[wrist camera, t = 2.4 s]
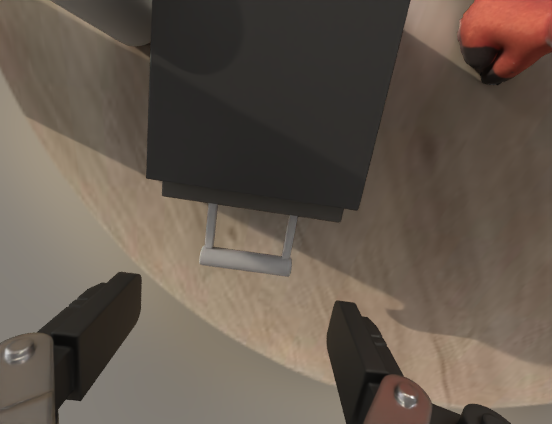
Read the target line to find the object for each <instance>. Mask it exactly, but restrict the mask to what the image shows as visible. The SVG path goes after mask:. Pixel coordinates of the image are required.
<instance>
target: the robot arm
mask: <svg viewBox="0 0 552 424" xmlns="http://www.w3.org/2000/svg"><path fill="white" fill-rule="evenodd" d="M141 282H142V280H141V275H140V274H134V273H126V272H119V273H117V274H116V275H115V276H114V277H113V278H112V279H110V280H109V281H108V282H107V283H100V284H98V285H96V286H94V287H91V288H89V289H87V290H86V291H85V292H84V293H83V294H81V295H80V296H79V297H78V299H77V300H75V301H73V302H72V303H71V304H70V305H69V307H66V308H65V309H64V310H63V311H61V312H60V313H59V314H58V315H57V316H55V317H54V318H53V319H52V320H51V321H50V322H48V323H47V324H46V325H45V326H44V327H42V328H41V329H40V330H39V331H38V332H37V333H27V334H22V335H18V336H15V337H12V338H9V339H7V340H5V341H3V342H1V343H0V424H59V414H58V409H59V408H60V406H61V405H62V404H63V402H64V401H65V400H66V399H67V400H76V401H81V400H82V399H83V397H84V396H85V395H86V393H87V391H88V390H89V389H90V388H91V386H92V385H93V383H94V382H95V380H96V379H97V378H98V376H99V375H100V373H101V372H102V371H103V369H104V368H105V367H106V365H107V364H108V362H109V361H110V359H111V358H112V357H113V355H114V354H115V353H116V351H117V350H118V348H119V347H120V346H121V344H122V343H123V341H124V340H125V339H126V337H127V336H128V334H129V333H130V331H131V330H132V329H133V327H134V326H135V325H136V323H137V321H138V318H139V315H140V310H141V284H142V283H141ZM327 350H328V353H329V357H330V361H331V365H332V369H333V373H334V377H335V381H336V385H337V389H338V393H339V397H340V401H341V405H342V408H343V413H344V416H345V420H346V424H511V423H510V422H508V421H507V420H506V419H505V418H503V417H502V416H501V415H499V414H498V413H496V412H495V411H493V410H491V409H489V408H487V407H485V406H482V405H478V404H468V405H466V406H465V407H464V409H463V412H462V414H461V415H460V414H457V413H455V412H452V411H450V410H447V409H445V408H442V407H439V406H437V405H435V404H432V403H431V400H430V398H429V396H428V395H427V394H426V392H425V391H424V390H423V389H422V388H421V387H420V386H419V385H418V384H416V383H415V382H414V381H412V380H410V379H408V378H406V377H404V376H403V374H402V372H401V370H400V368H399V367H398V365H397V363H396V361H395V359H394V357H393V355H392V354H391V352H390V350H389V348H388V347H387V344H386V342H385V341H384V339H383V338H382V335H381V333H380V331H379V329H378V328H377V326H376V325H375V324H374V323H373V322H372V321H371V320H370V319H369V318H368V317H363V316H361V314H360V312H359V310H358V308H357V305H356V304H355V303H352V302H345V301H336V302H335V304H334V307H333V311H332V315H331V319H330V323H329V327H328V332H327Z"/></svg>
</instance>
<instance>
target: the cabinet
mask: <svg viewBox="0 0 552 424" xmlns="http://www.w3.org/2000/svg"><path fill="white" fill-rule="evenodd" d="M409 4H410V0H152V19H151V49H150V79H149V109H148V139H147V169H146V178H147V179H154V180H160V181H167V182H173V183H180V184H186V185H193V186H200V187H206V188H213V189H219V190H226V191H232V192H239V193H245V194H252V195H259V196H265V197H272V198H278V199H285V200H291V201H298V202H305V203H311V204H318V205H324V206H331V207H337V208H344V209H350V210H358V209H359V205H360V201H361V197H362V193H363V189H364V185H365V181H366V177H367V173H368V169H369V165H370V161H371V157H372V153H373V149H374V145H375V141H376V137H377V133H378V129H379V125H380V121H381V117H382V113H383V109H384V105H385V101H386V97H387V93H388V89H389V85H390V81H391V77H392V73H393V69H394V65H395V61H396V57H397V53H398V49H399V45H400V41H401V36H402V32H403V28H404V24H405V20H406V16H407V12H408V8H409Z"/></svg>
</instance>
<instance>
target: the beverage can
mask: <svg viewBox="0 0 552 424" xmlns="http://www.w3.org/2000/svg"><path fill="white" fill-rule="evenodd" d="M50 1H52V2H54V3H55V4H57V5H59V6H61V7H62V8H64V9H66V10H67V11H69V12H71V13H72V14H74V15H76V16H77V17H79V18H81V19H82V20H84V21H86V22H87V23H89V24H91V25H92V26H94V27H96V28H97V29H99V30H101V31H103V32H104V33H106V34H108V35H109V36H111V37H113V38H114V39H116V40H118V41H119V42H121V43H124V44H126V45H129V46H143V45H145V44H148V43H150V42H151V19H152V0H50Z"/></svg>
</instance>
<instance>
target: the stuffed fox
mask: <svg viewBox="0 0 552 424" xmlns="http://www.w3.org/2000/svg"><path fill="white" fill-rule="evenodd" d="M459 23H460V26H459V31H457V37H458V41H460V48H461V53H462V55H463V57H464V60H465V62H466V63H467V64H469V65H470V66H471V67H473V68H475V69H476V71H478V72H480V76H481V81H482V82H483V83H484V84H489V85H491V84H493V85H495V84H496V85H499V84H500V83H502V82H505V81H507V80H509V79H511V78H513V77H515V76H516V75H518V74H519V73H521V72H522V71H524V70H525V69H527V68H528V67H530V66H531V65H533V64H534V63H535V62H536V61H537V60H539V59H540V58H541V57H542V56H544V55H546V54H548V53H551V52H552V0H475V1H474V3H473V4H472V5H471V6H470V8H469V9H468V10H467V11H466V12H465V13H464V14H463V18H462V19H460V21H459Z"/></svg>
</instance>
